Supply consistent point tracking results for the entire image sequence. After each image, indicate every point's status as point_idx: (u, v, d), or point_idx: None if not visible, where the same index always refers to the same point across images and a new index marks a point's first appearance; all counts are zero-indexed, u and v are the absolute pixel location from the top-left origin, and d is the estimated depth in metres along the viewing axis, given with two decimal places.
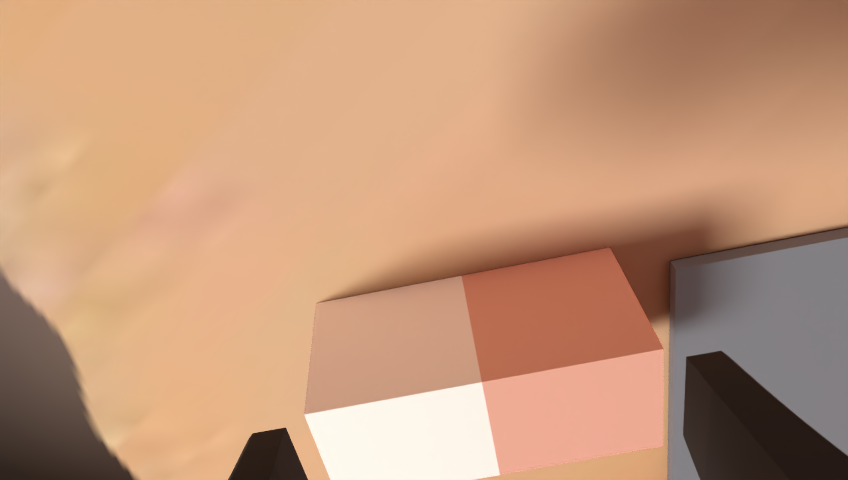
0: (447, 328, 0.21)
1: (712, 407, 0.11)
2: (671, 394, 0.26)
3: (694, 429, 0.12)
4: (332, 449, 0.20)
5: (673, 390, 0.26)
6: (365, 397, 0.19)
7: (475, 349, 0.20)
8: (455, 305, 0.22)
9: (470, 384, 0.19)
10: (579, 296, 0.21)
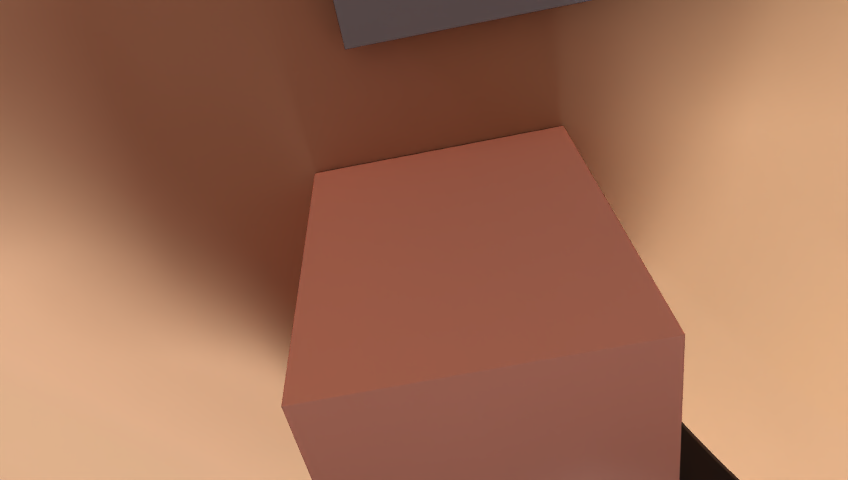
0: None
1: None
2: None
3: None
4: None
5: None
6: None
7: None
8: None
9: None
10: None
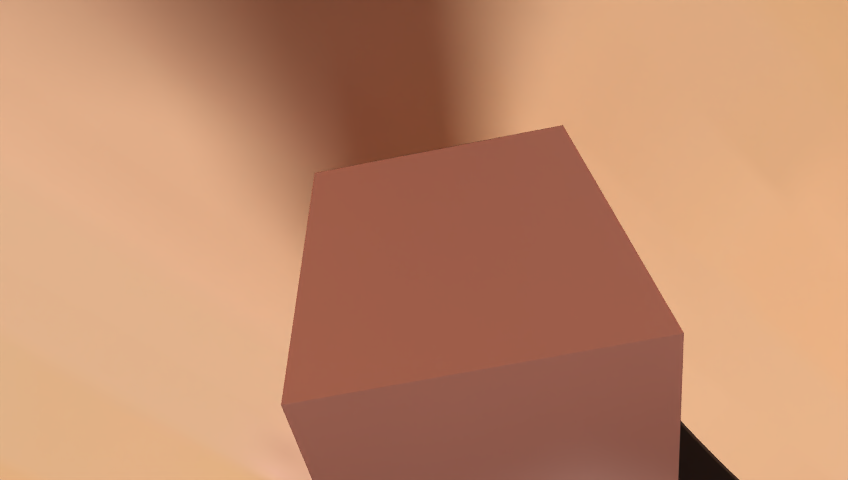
0: None
1: None
2: None
3: None
4: None
5: None
6: None
7: None
8: None
9: None
10: None
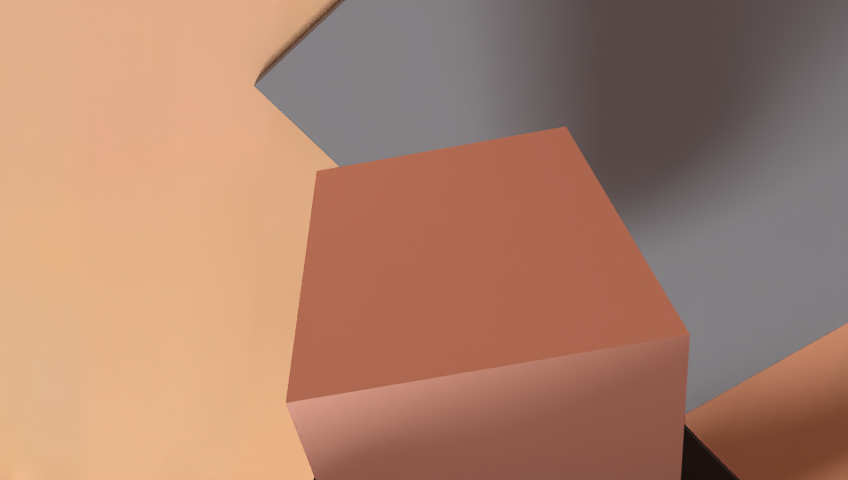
0: None
1: None
2: None
3: None
4: None
5: None
6: None
7: None
8: None
9: None
10: None
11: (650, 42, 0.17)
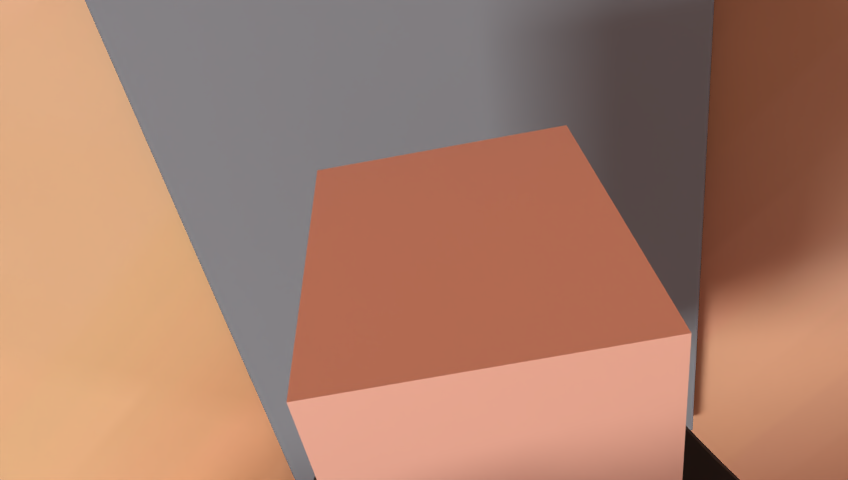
0: None
1: None
2: None
3: None
4: None
5: (163, 176, 0.16)
6: None
7: None
8: None
9: None
10: None
11: (491, 107, 0.16)
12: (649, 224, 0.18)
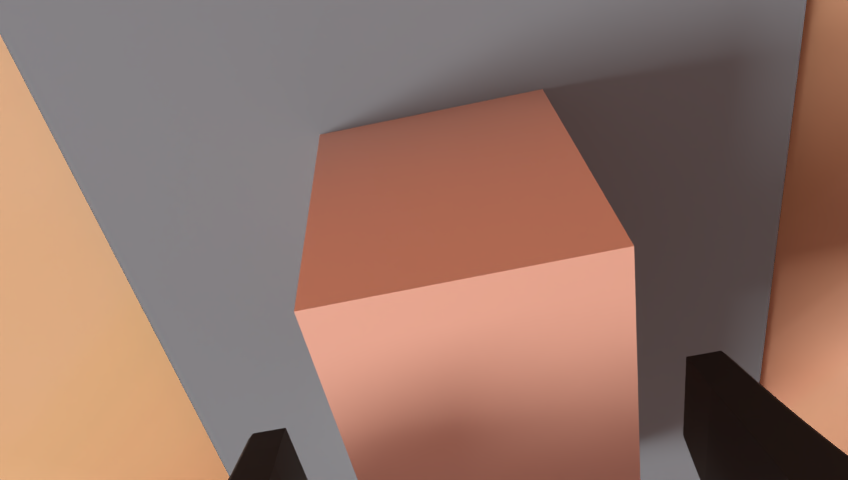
0: None
1: (712, 407, 0.11)
2: None
3: (694, 429, 0.12)
4: None
5: (118, 259, 0.13)
6: None
7: None
8: None
9: None
10: None
11: None
12: (705, 307, 0.15)
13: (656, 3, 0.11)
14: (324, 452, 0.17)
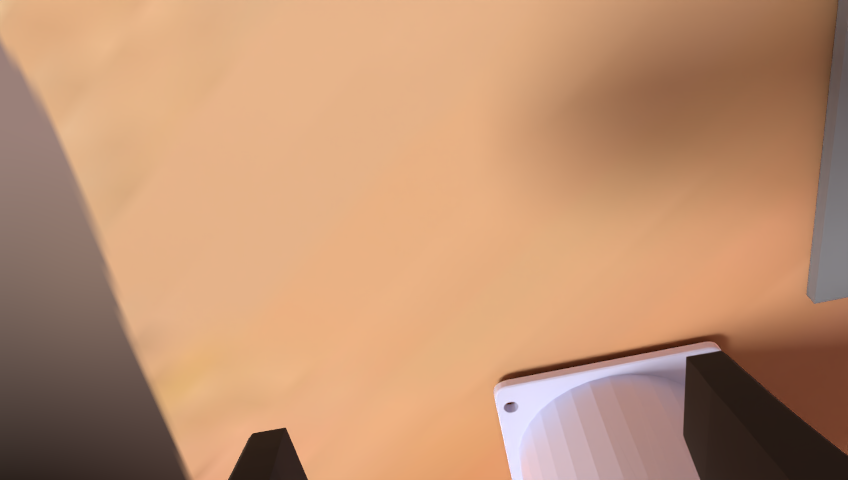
0: None
1: (712, 407, 0.11)
2: None
3: (694, 429, 0.12)
4: None
5: None
6: None
7: None
8: None
9: None
10: None
11: None
12: None
13: None
14: None
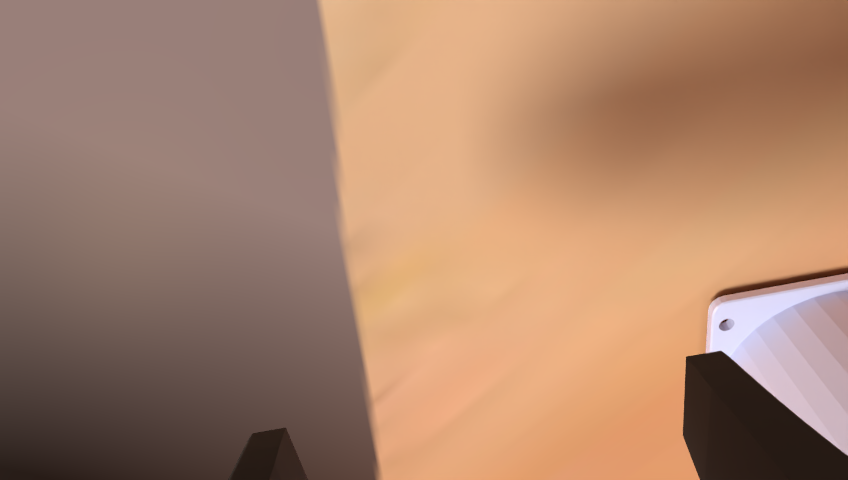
0: None
1: (712, 407, 0.11)
2: None
3: (694, 429, 0.12)
4: None
5: None
6: None
7: None
8: None
9: None
10: None
11: None
12: None
13: None
14: None
